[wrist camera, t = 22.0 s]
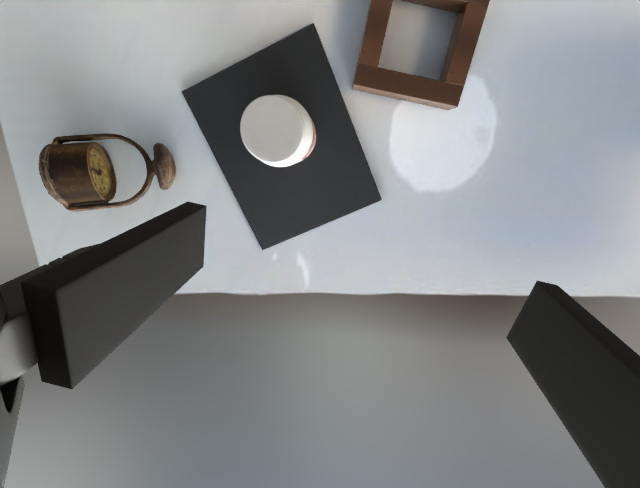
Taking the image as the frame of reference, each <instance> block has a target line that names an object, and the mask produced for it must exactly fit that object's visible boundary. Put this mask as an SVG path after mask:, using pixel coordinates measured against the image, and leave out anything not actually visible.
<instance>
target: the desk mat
mask: <svg viewBox="0 0 640 488" xmlns="http://www.w3.org/2000/svg"><path fill="white" fill-rule="evenodd" d="M182 93H183V95H184V97H185V99H186V101H187V103H188V105H189V107H190V109H191V111H192V113H193V115H194V117H195V119H196V120H197V122H198V124H199V126H200V128H201V130H202V132H203V134H204V136H205V138H206V140H207V142H208V144H209V146H210V148H211V150H212V152H213V154H214V156H215V158H216V160H217V162H218V164H219V166H220V168H221V170H222V172H223V173H224V175H225V177H226V179H227V181H228V183H229V185H230V187H231V189H232V191H233V193H234V195H235V197H236V199H237V201H238V203H239V205H240V207H241V209H242V211H243V213H244V215H245V217H246V219H247V221H248V223H249V225H250V227H251V228H252V230H253V232H254V234H255V236H256V238H257V240H258V242H259V244H260V246H261V248H262V250H264V249H266V248H269V247H271V246H273V245H276V244H278V243H280V242H283V241H285V240H288V239H290V238H292V237H295V236H297V235H299V234H302V233H304V232H307V231H309V230H311V229H314V228H316V227H318V226H321V225H323V224H326V223H328V222H330V221H333V220H335V219H337V218H340V217H342V216H345V215H347V214H349V213H352V212H354V211H356V210H359V209H361V208H364V207H366V206H368V205H371V204H373V203H375V202H378V201H380V200H381V197H380V195H379V192H378V189H377V187H376V184H375V182H374V179H373V176H372V174H371V171H370V168H369V166H368V163H367V161H366V158H365V155H364V153H363V150H362V148H361V145H360V142H359V140H358V137H357V135H356V132H355V129H354V127H353V124H352V122H351V119H350V116H349V114H348V111H347V109H346V106H345V103H344V101H343V98H342V96H341V93H340V90H339V88H338V85H337V83H336V80H335V77H334V75H333V72H332V70H331V67H330V64H329V62H328V59H327V57H326V54H325V51H324V49H323V46H322V44H321V41H320V38H319V36H318V33H317V31H316V28H315V25H314V23H313V24H311V25H309V26H307V27H305V28H303V29H301V30H300V31H298V32H296V33H294V34H292V35H290V36H288V37H286V38H284V39H282V40H280V41H278V42H276V43H275V44H273V45H271V46H269V47H267V48H265V49H263V50H261V51H259V52H257V53H255V54H253V55H252V56H250V57H248V58H246V59H244V60H242V61H240V62H238V63H236V64H234V65H232V66H230V67H228V68H227V69H225V70H223V71H221V72H219V73H217V74H215V75H213V76H211V77H209V78H207V79H205V80H204V81H202V82H200V83H198V84H196V85H194V86H192V87H190V88H188V89H186V90H184V91H182ZM266 95H284V96H288V97H290V98H292V99H294V100H296V101H297V102H299V103H300V104H301V105H302V106H303V107H304V108H305V110H306V111H307V113H308V114H309V116H310V118H311V119H312V121H313V123H314V126H315V130H316V142H315V146H314V148H313V150H312V152H311V153H310V154H309V156H308V157H306V158H305V159H304V160H302V161H300V162H298V163H295V164H293V165H290V166H287V167H274V166H270V165H268V164H265V163H263V162H262V161H260V160H259V159H257V158H256V157H254V156H253V155H252V154H251V153H250V152H249V151H248V150H247V148H246V147H245V145H244V143H243V140H242V138H241V133H240V123H241V118H242V115H243V113H244V111H245V109H246V108H247V106H248V105H249V104H250V103H251V102H252V101H254V100H255V99H257V98H259V97H262V96H266Z"/></svg>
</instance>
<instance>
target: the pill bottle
mask: <svg viewBox="0 0 640 488" xmlns="http://www.w3.org/2000/svg"><path fill="white" fill-rule="evenodd" d="M240 133H241V138H242V140H243V143H244V145H245V147H246V148H247V150H248V151H249V152H250V153H251V154H252V155H253V156H254V157H256V158H257V159H259V160H260V161H262V162H263V163H265V164H268V165H270V166H274V167H287V166H290V165H293V164H295V163H298V162H300V161H302V160H304V159H305V158H306V157H308V156H309V154H310V153H311V152H312V150H313V148H314V146H315V142H316V130H315V126H314V123H313V121H312V119H311V118H310V116H309V114H308V113H307V111H306V110H305V108H304V107H303V106H302V105H301V104H300V103H299V102H297V101H296V100H294V99H292V98H290V97H288V96H284V95H266V96H262V97H259V98H257V99H255V100H254V101H252V102H251V103H250V104H249V105H248V106H247V108H246V109H245V111H244V113H243V115H242V118H241V123H240Z"/></svg>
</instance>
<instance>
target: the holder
mask: <svg viewBox="0 0 640 488" xmlns="http://www.w3.org/2000/svg"><path fill="white" fill-rule="evenodd" d="M392 1H393V0H371V1H370V6H369V11H368V15H367V20H366V25H365V30H364V35H363V39H362V44H361V49H360V54H359V58H358V63H357V68H356V73H355V78H354V82H353V87H352V89H354V90H359V91H363V92H368V93H373V94H377V95H382V96H386V97H391V98H396V99H400V100H405V101H410V102H414V103H419V104H424V105H428V106H433V107H437V108H442V109H447V110H450V109H453V108H455V107H458V104H459V100H460V97H461V94H462V90H463V87H464V84H465V80H466V77H467V74H468V70H469V67H470V64H471V61H472V57H473V54H474V51H475V47H476V44H477V41H478V37H479V34H480V31H481V27H482V24H483V21H484V17H485V14H486V11H487V7H488V4H489V1H490V0H403V1H407V2H412V3H416V4H421V5H425V6H429V7H434V8H438V9H443V10H447V11H452V12H456V13H458V14H457V17H456V21H455V24H454V28H453V31H452V35H451V39H450V42H449V46H448V49H447V53H446V56H445V60H444V64H443V67H442V71H441V74H440V78H439V81H438V80H433V79H429V78H424V77H420V76H415V75H410V74H406V73H401V72H397V71H392V70H387V69H383V68H378V63H379V59H380V54H381V50H382V45H383V41H384V37H385V32H386V28H387V23H388V19H389V15H390V10H391V6H392Z"/></svg>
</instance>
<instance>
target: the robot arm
mask: <svg viewBox="0 0 640 488" xmlns="http://www.w3.org/2000/svg"><path fill="white" fill-rule="evenodd" d="M205 221H206V206H204V205H200V204H196V203H191V202H186V203H184V204H182V205H180V206H178V207H176V208H174V209H172V210H170V211H168V212H166V213H163V214H161V215H159V216H157V217H155V218H153V219H151V220H149V221H147V222H145V223H143V224H141V225H139V226H136V227H134V228H132V229H130V230H128V231H126V232H124V233H122V234H120V235H118V236H116V237H114V238H112V239H109V240H107V241H105V242H103V243H101V244H97V245H93V246H88V247H84V248H80V249H78V250H75V251H73V252H71V253H69V254H67V255H65V256H63V258H58V259H56V260H54V261H52V262H50V263H49V264H48V265H46V264H45V265H43V266H41V267H39V268H37V269H35V270H32V271H31V272H28V273H26V274H24V275H22V276H20V277H17V278H15V279H13V280H11V281H9V282H6V283H4V284H2V285H0V488H4V483H5V479H6V474H7V469H8V464H9V459H10V454H11V448H12V444H13V439H14V434H15V429H16V424H17V420H18V415H19V410H20V405H21V400H22V395H23V390H24V380H23V376H22V374H23V373H24V372H26V371H27V370H28V369H30V368H31V367H32V366H34V365H35V364H36V363H38V366H39V371H40V376H41V380H42V382H46V383H50V384H54V385H58V386H61V387H66V388H69V389H73V388H74V387H75V386H76V385H77V384H78V383H79V382H80V381H81V380H82V379H84V377H86V376H87V375H88V374H89V373H90V372H91V371H92V370H93V369H94V368H95V367H96V366H97V365H99V363H101V362H102V361H103V360H104V359H105V358H106V357H107V356H108V355H109V354H110V353H111V352H112V351H113V350H115V348H117V347H118V346H119V345H120V344H121V343H122V342H123V341H124V340H125V339H126V338H127V337H128V336H129V335H131V334H132V333H133V332H134V331H135V330H136V329H137V328H138V327H139V326H140V325H141V324H142V323H143V322H144V321H146V320H147V319H148V318H149V317H150V316H151V315H152V314H153V313H154V312H155V311H156V310H157V309H158V308H159V307H160V306H162V305H163V304H164V303H165V302H166V301H167V300H168V299H169V298H170V297H171V296H172V295H173V294H174V293H175V292H176V291H178V290H179V289H180V288H181V287H182V286H183V285H184V284H185V283H186V282H187V281H188V280H189V279H190V278H191V277H192V276H194V275H195V274H196V273H197V272H198V271H199V270H200V269H201V268H202V267H203V262H204V241H205ZM507 339H508V341H509V342H510V344H511V345H512V347H513V348H514V350H515V351H516V353H517V354H518V356H519V357H520V359H521V360H522V362H523V363H524V365H525V367H526V368H527V369H528V371H529V373H530V374H531V375H532V377H533V379H534V380H535V382H536V383H537V385H538V386H539V388H540V389H541V391H542V392H543V394H544V395H545V397H546V398H547V400H548V401H549V403H550V404H551V406H552V407H553V409H554V411H555V412H556V414H557V415H558V417H559V418H560V420H561V421H562V423H563V424H564V426H565V427H566V429H567V430H568V432H569V433H570V435H571V436H572V438H573V439H574V441H575V442H576V444H577V446H578V447H579V449H580V450H581V451H582V453H583V455H584V456H585V458H586V459H587V461H588V462H589V464H590V465H591V467H592V468H593V470H594V471H595V473H596V474H597V476H598V477H599V479H600V481H601V482H602V484H603V485H604V487H605V488H640V356H639V355H638V354H637V353H636V352H634V351H633V350H632V349H631V348H630V347H628V346H627V345H626V344H625V343H624V342H623V341H622V340H620V339H619V338H618V337H617V336H616V335H615V334H613V333H612V332H611V331H610V330H609V329H607V328H606V327H605V326H604V325H603V324H602V323H600V322H599V321H598V320H597V319H596V318H595V317H594V316H592V315H591V314H590V313H589V312H588V311H587V310H585V309H584V308H583V307H582V306H581V305H580V304H578V303H577V302H576V301H575V300H574V299H572V298H571V297H570V296H569V295H568V294H567V293H566V292H564V291H563V290H562V289H561V288H560V287H559V286H557V285H553V284H549V283H545V282H540V281H537V282H536V284H535V286H534V287H533V289H532V291H531V293H530V295H529V297H528V299H527V300H526V302H525V304H524V306H523V308H522V310H521V312H520V313H519V315H518V317H517V319H516V321H515V323H514V325H513V327H512V328H511V330H510V332H509V334H508V336H507Z"/></svg>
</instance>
